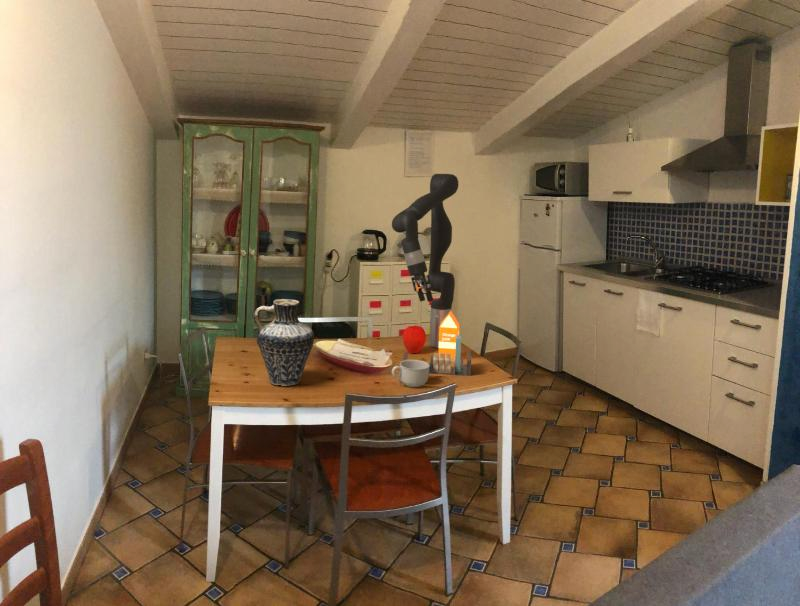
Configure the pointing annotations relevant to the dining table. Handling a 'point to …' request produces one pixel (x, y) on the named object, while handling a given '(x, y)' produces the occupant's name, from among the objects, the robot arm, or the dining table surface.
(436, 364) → the offcut
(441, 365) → the offcut
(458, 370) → the teal board
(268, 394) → the dining table surface
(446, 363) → the offcut
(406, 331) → the apple
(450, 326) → the orange juice
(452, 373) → the rack
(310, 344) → the jug
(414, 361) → the teacup
